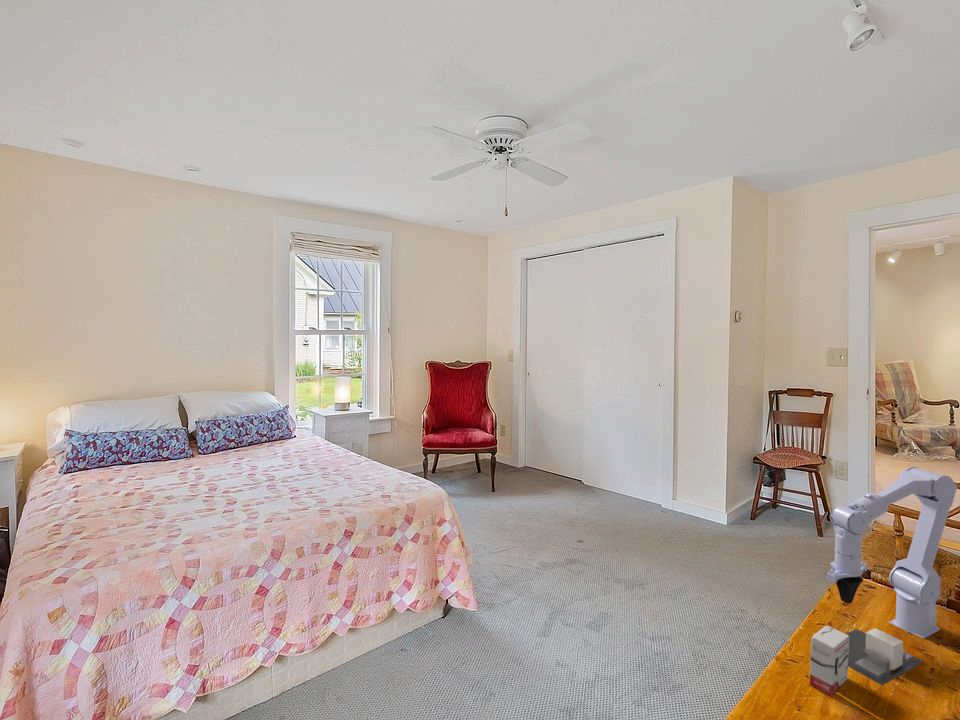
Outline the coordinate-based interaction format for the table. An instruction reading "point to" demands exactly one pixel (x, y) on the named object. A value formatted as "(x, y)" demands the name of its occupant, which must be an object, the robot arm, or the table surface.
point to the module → (885, 647)
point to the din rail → (874, 660)
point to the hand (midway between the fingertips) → (846, 601)
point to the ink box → (829, 659)
